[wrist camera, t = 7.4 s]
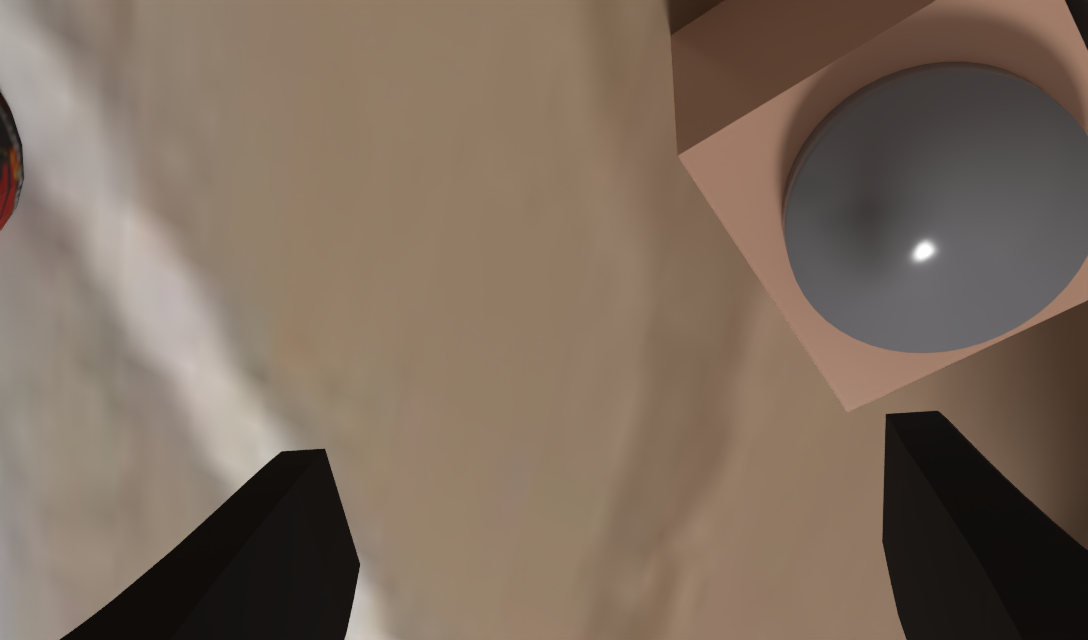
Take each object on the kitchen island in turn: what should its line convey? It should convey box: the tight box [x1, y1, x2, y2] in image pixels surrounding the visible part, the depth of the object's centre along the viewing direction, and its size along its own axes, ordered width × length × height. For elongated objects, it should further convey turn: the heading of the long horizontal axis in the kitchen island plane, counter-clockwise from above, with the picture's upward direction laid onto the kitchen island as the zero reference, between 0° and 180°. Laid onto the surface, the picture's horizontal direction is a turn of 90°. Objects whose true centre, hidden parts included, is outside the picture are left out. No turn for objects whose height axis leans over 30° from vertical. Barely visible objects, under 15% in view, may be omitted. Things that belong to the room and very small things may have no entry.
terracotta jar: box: [671, 0, 1088, 412], centre depth 17 cm, size 5×5×7 cm
